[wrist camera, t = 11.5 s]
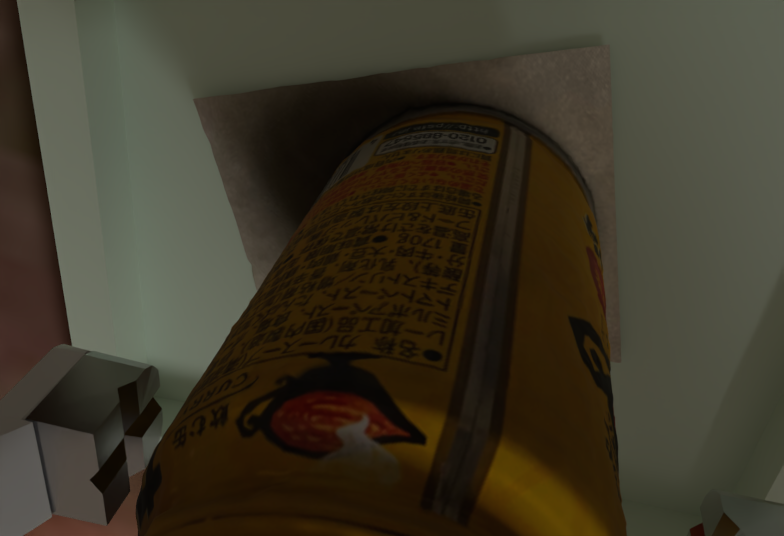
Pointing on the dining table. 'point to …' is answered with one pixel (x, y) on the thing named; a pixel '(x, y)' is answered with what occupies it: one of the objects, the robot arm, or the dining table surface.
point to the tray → (423, 50)
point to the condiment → (411, 311)
